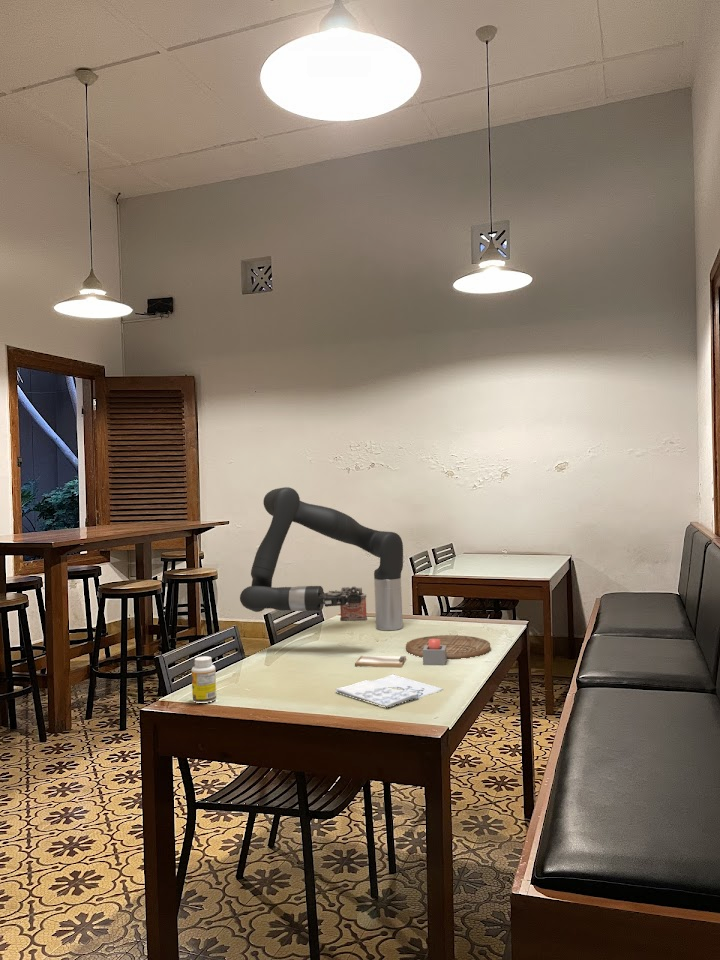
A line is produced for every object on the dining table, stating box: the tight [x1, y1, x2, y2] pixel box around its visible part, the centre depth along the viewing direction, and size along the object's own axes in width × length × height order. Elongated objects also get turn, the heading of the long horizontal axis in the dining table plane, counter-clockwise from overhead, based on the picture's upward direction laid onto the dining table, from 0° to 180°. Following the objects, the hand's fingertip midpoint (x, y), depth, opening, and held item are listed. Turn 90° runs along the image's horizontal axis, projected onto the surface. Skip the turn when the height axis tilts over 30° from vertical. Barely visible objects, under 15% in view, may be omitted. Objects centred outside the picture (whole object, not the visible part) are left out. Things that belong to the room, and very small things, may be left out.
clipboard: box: [354, 655, 407, 668], centre depth 204 cm, size 9×13×1 cm
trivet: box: [405, 634, 491, 660], centre depth 218 cm, size 25×25×2 cm
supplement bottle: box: [191, 655, 217, 703], centre depth 173 cm, size 6×6×10 cm
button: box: [429, 639, 440, 649], centre depth 203 cm, size 3×3×4 cm
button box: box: [422, 645, 447, 666], centre depth 203 cm, size 6×6×4 cm
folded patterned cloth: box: [334, 673, 444, 708], centre depth 176 cm, size 19×20×2 cm
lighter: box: [339, 586, 368, 622], centre depth 217 cm, size 8×3×10 cm, turn 84°
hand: (362, 598), depth 217 cm, fingers closed on lighter, 3 cm apart
